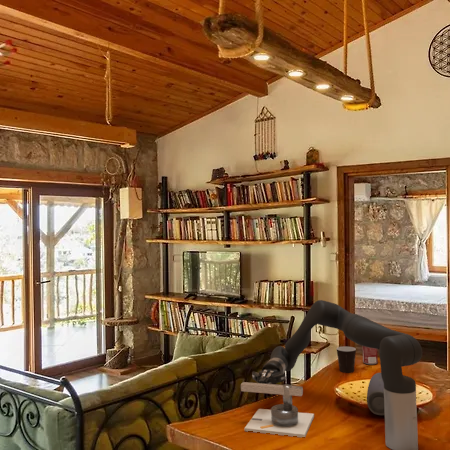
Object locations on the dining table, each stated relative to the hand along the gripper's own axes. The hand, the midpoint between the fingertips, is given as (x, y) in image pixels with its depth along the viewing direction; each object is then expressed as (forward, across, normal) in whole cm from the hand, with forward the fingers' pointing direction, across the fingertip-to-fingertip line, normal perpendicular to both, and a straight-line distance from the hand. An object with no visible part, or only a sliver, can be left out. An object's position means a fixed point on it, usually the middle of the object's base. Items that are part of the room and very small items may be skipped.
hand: (262, 383), depth 178 cm
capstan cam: (+5, +5, +10) cm, 12 cm away
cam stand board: (+4, +7, +12) cm, 14 cm away
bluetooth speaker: (-20, +39, +12) cm, 46 cm away
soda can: (-77, +32, +12) cm, 85 cm away
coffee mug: (-61, +22, +12) cm, 66 cm away
